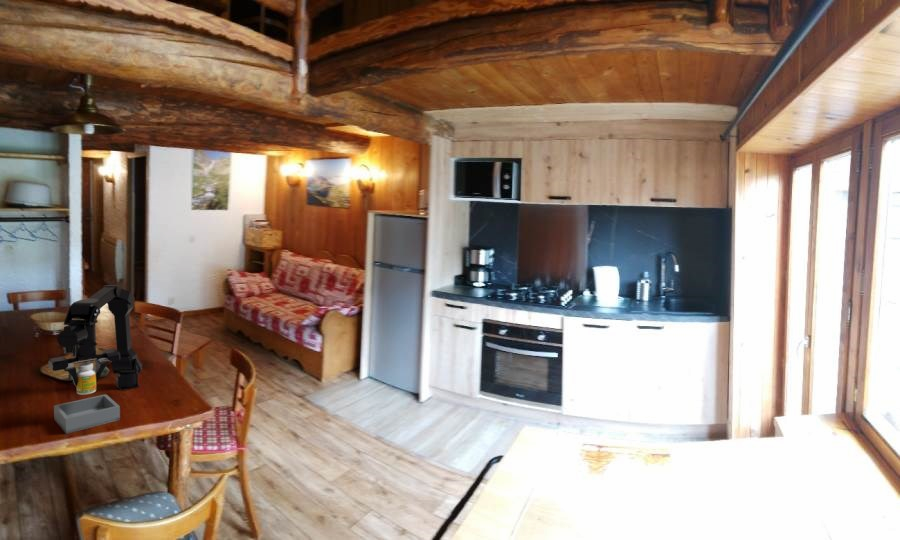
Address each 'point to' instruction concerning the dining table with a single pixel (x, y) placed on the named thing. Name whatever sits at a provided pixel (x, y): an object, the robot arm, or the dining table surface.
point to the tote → (86, 413)
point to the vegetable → (95, 369)
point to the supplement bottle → (86, 379)
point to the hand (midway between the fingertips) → (86, 383)
